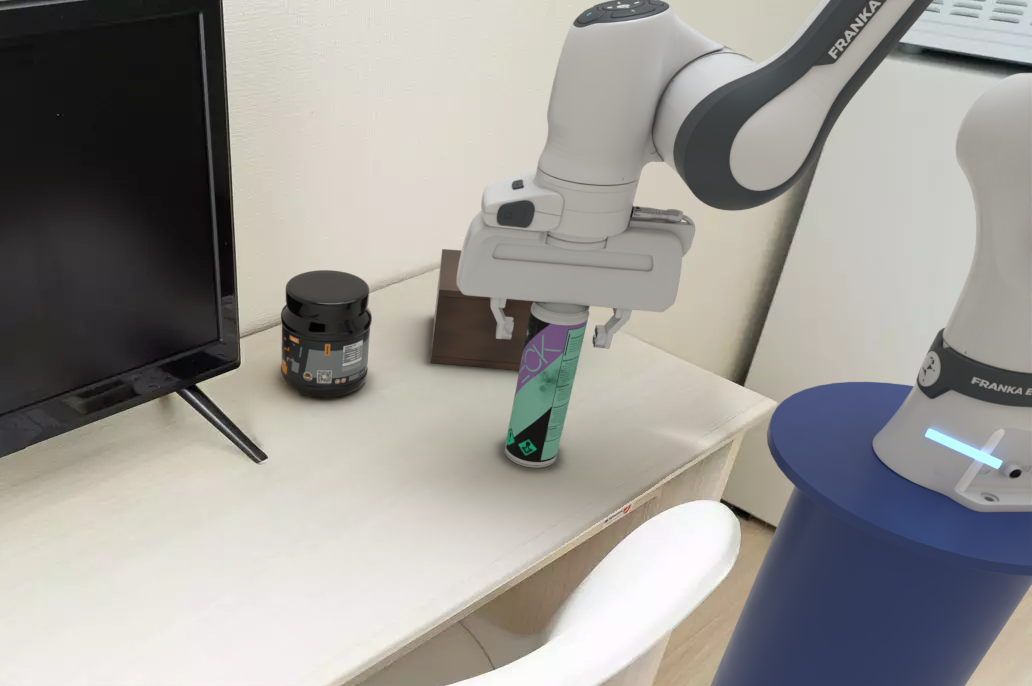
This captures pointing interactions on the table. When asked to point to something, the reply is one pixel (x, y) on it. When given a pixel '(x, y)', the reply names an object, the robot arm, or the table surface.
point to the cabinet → (473, 324)
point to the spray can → (545, 382)
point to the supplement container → (325, 333)
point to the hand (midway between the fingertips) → (551, 341)
